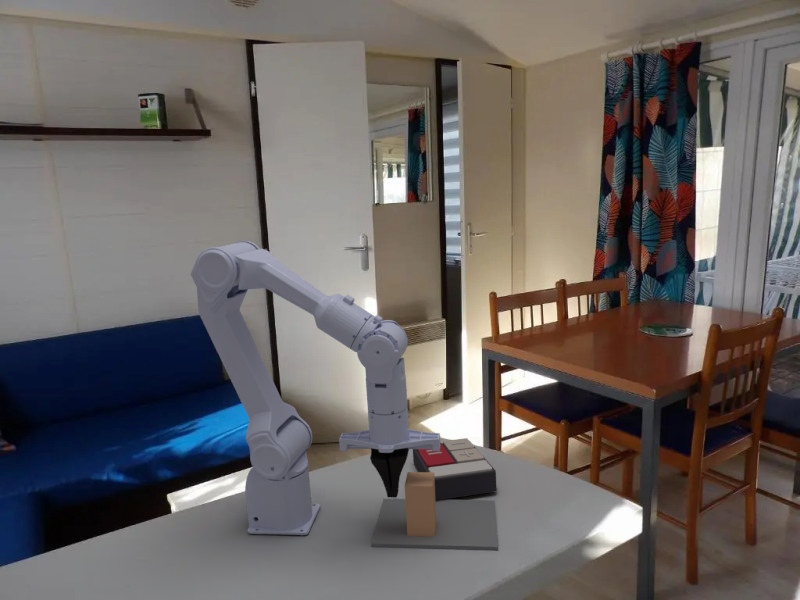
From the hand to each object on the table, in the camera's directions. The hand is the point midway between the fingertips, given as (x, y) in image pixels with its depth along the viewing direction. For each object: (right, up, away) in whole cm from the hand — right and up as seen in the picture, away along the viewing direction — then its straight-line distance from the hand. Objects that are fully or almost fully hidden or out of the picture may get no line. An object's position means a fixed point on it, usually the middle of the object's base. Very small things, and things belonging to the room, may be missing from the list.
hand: (393, 493), depth 85 cm
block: (+4, -5, +1) cm, 7 cm away
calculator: (+10, -2, +16) cm, 19 cm away
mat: (+7, -5, +2) cm, 9 cm away
